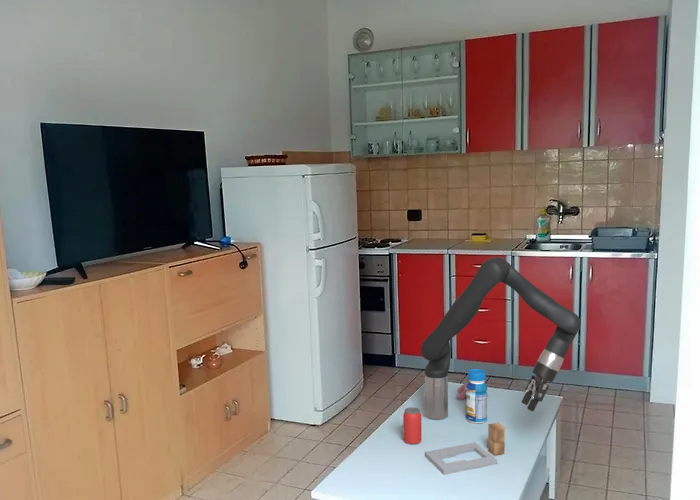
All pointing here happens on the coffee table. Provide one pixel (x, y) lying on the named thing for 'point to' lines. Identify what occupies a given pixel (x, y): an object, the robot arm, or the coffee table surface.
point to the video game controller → (462, 391)
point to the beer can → (412, 425)
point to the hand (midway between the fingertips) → (526, 407)
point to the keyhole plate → (461, 465)
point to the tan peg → (496, 439)
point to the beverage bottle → (476, 397)
